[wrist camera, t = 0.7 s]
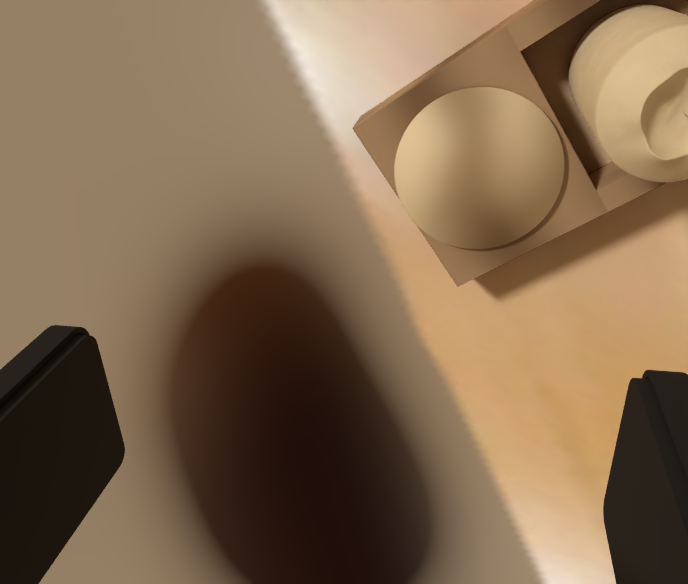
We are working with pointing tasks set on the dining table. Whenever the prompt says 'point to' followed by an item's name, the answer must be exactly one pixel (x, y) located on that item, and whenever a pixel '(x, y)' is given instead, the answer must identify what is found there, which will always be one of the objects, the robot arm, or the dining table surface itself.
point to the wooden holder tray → (490, 151)
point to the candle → (636, 89)
